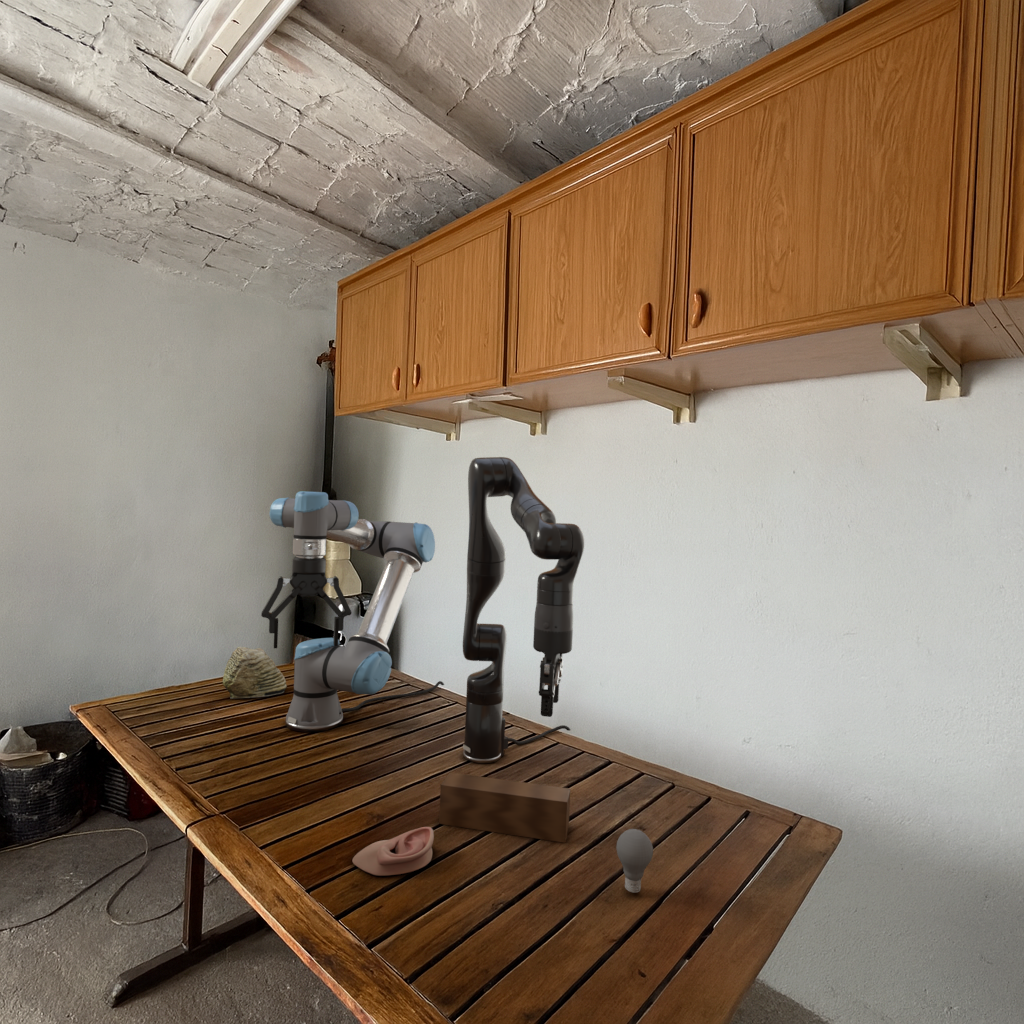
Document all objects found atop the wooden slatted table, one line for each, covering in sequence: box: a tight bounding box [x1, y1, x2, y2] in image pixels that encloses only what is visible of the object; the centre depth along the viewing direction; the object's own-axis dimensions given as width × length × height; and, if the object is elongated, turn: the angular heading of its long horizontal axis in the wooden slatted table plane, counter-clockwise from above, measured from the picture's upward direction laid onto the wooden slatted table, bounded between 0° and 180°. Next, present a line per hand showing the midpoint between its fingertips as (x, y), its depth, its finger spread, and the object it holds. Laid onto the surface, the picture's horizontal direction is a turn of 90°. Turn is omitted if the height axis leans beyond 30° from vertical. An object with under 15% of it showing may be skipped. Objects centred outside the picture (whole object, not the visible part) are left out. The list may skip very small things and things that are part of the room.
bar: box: [438, 772, 571, 844], centre depth 125 cm, size 25×6×8 cm, turn 79°
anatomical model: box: [351, 826, 435, 877], centre depth 112 cm, size 13×4×12 cm
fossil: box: [222, 646, 288, 699], centre depth 198 cm, size 9×18×15 cm, turn 132°
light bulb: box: [615, 828, 654, 894], centre depth 106 cm, size 6×6×10 cm
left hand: (306, 645), depth 150 cm, fingers open, 13 cm apart
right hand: (549, 708), depth 123 cm, fingers open, 8 cm apart
